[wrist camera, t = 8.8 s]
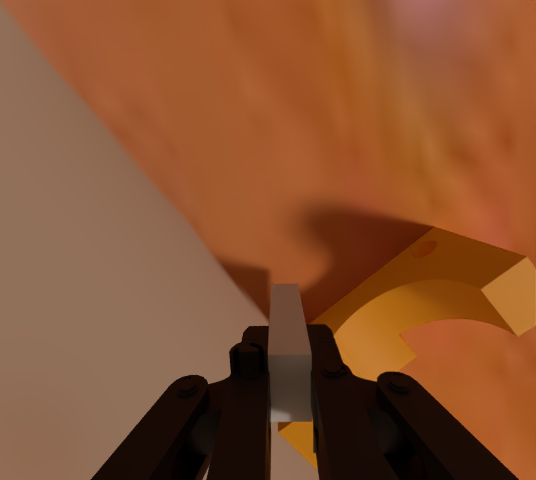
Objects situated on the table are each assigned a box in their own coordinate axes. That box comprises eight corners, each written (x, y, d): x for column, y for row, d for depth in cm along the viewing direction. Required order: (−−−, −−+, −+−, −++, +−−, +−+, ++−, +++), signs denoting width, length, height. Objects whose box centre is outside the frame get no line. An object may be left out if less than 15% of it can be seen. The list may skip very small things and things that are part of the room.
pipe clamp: (320, 389, 19) (341, 493, 13) (277, 345, 19) (278, 432, 12) (474, 279, 17) (587, 338, 11) (432, 226, 17) (527, 256, 10)
